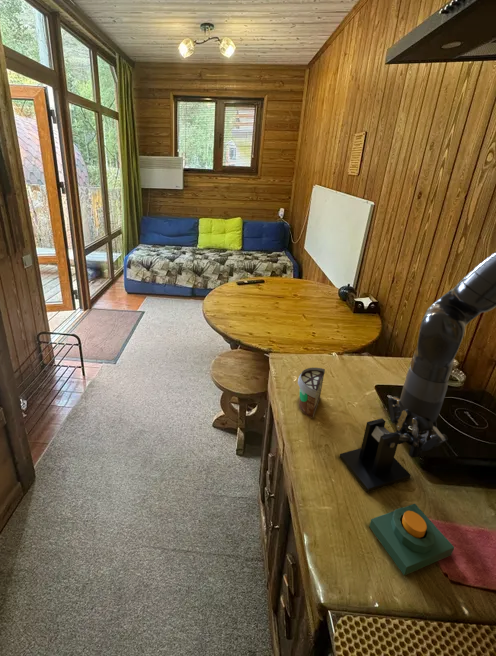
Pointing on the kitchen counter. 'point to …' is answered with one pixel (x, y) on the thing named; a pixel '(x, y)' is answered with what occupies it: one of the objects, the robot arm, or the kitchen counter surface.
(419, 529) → the button
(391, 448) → the bracket
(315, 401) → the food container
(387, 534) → the button panel
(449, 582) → the kitchen counter surface
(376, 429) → the lever
